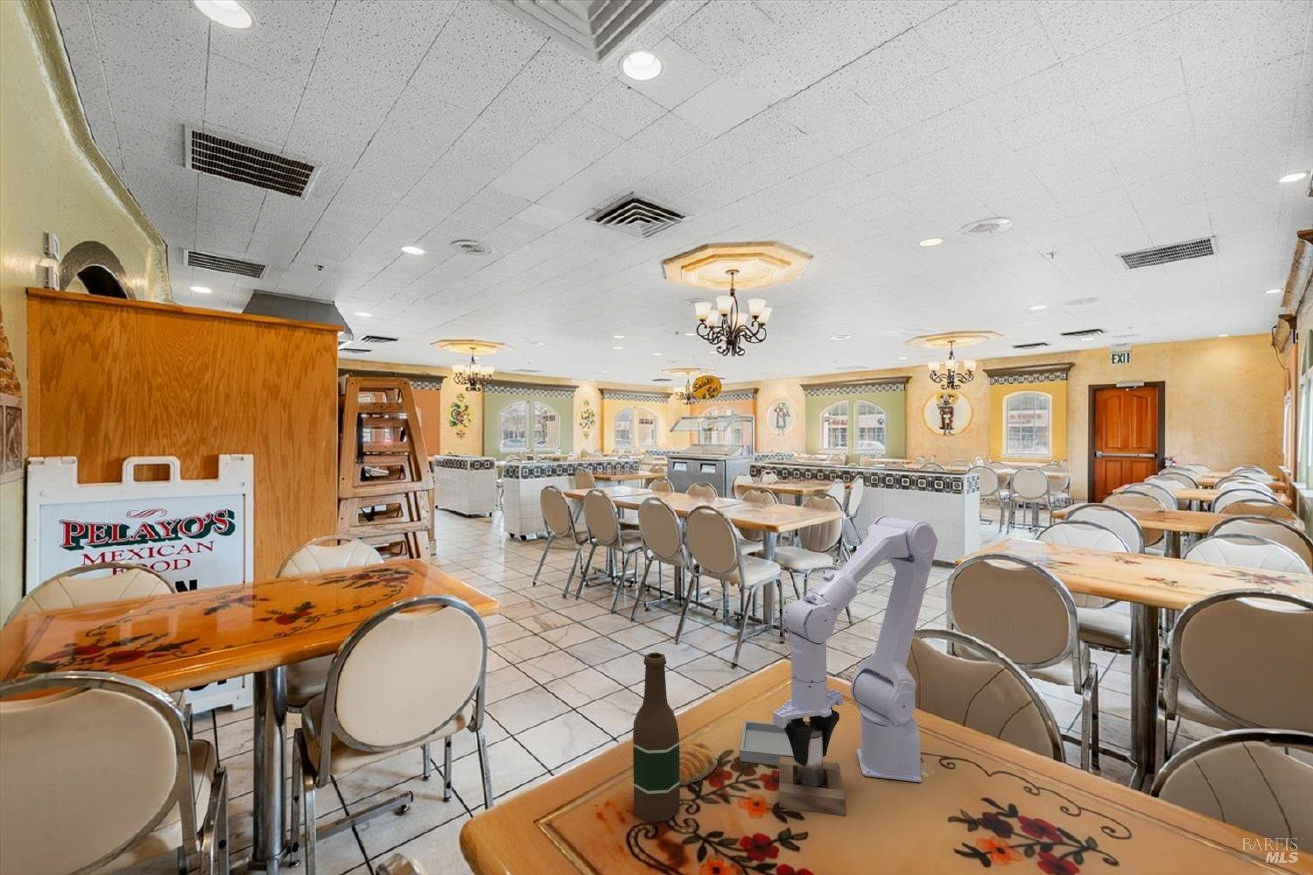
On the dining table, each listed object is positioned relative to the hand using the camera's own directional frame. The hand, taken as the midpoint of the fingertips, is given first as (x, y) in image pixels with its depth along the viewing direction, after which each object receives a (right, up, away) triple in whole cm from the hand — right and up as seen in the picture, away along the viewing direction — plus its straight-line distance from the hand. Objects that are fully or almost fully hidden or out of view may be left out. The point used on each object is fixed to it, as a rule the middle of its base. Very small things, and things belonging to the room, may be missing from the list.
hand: (810, 758), depth 91 cm
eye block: (0, -6, 0) cm, 6 cm away
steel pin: (0, -3, 0) cm, 3 cm away
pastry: (-19, -6, +6) cm, 21 cm away
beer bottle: (-25, -6, -4) cm, 26 cm away
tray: (-3, -6, +13) cm, 14 cm away
